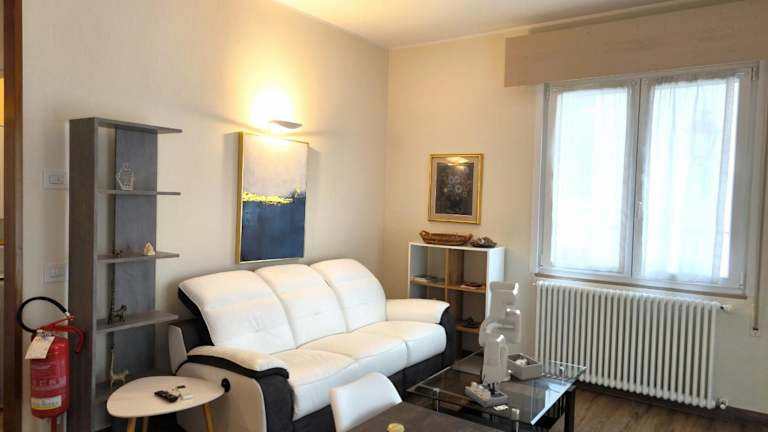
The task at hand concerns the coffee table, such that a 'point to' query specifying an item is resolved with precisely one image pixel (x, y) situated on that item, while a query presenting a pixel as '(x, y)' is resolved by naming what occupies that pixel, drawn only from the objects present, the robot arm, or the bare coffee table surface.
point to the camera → (522, 361)
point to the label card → (500, 407)
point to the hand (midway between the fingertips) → (491, 394)
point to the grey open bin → (524, 367)
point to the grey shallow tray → (495, 400)
